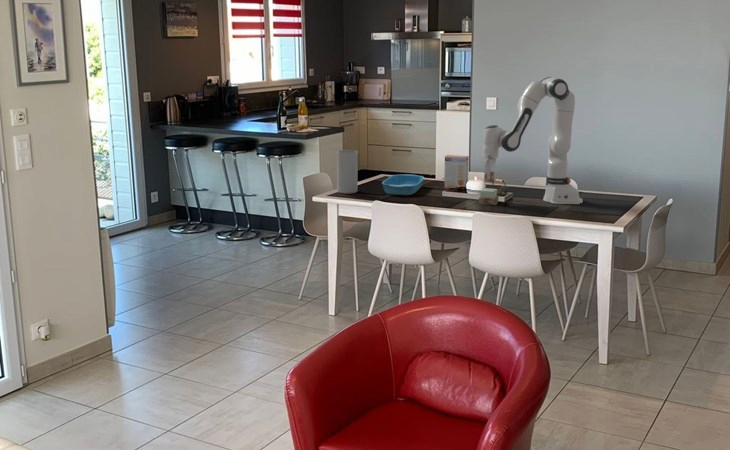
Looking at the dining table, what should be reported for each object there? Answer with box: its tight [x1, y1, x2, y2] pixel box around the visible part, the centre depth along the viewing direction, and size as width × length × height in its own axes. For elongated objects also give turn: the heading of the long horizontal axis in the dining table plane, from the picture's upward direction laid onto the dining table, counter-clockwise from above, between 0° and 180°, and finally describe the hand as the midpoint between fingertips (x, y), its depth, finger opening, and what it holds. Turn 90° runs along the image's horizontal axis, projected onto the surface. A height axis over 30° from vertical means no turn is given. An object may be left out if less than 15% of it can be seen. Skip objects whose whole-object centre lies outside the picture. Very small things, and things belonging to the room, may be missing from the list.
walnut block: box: [478, 194, 499, 206], centre depth 464 cm, size 10×10×4 cm
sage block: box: [480, 187, 498, 199], centre depth 463 cm, size 8×8×4 cm
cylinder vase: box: [336, 149, 359, 195], centre depth 491 cm, size 12×12×25 cm
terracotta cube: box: [483, 171, 495, 183], centre depth 460 cm, size 5×5×5 cm
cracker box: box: [443, 154, 470, 190], centre depth 501 cm, size 14×6×21 cm, turn 65°
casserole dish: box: [381, 174, 425, 196], centre depth 498 cm, size 37×22×7 cm, turn 163°
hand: (489, 177), depth 460 cm, fingers closed on terracotta cube, 5 cm apart
